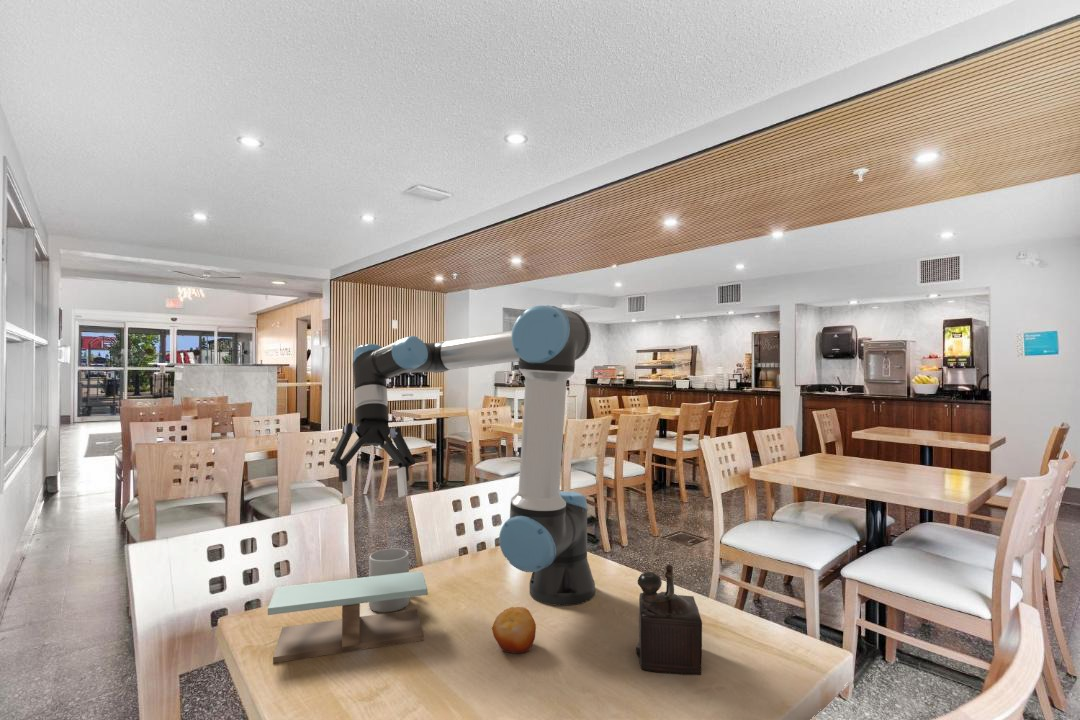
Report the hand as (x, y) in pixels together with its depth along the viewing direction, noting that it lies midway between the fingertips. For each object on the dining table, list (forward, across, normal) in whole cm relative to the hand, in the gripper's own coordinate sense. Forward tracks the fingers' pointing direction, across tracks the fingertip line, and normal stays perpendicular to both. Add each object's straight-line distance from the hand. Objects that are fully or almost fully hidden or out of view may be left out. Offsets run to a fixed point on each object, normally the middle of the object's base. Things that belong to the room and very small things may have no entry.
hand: (376, 496), depth 124 cm
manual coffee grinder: (+41, -26, +49) cm, 69 cm away
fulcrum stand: (+27, +8, +2) cm, 28 cm away
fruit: (+34, -11, +27) cm, 45 cm away
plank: (+20, +9, +5) cm, 23 cm away
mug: (+22, -6, -6) cm, 24 cm away
